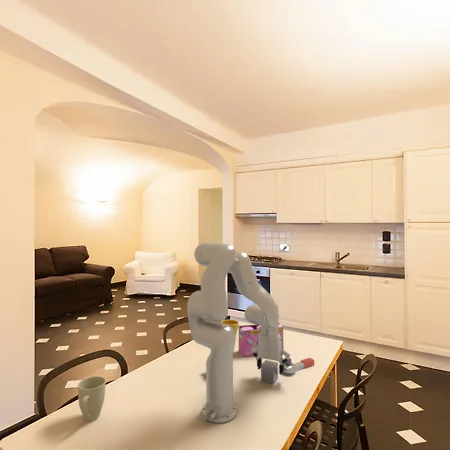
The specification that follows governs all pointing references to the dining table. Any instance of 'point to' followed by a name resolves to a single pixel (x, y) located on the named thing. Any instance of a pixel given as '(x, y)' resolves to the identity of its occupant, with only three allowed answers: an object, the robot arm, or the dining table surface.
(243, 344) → the gum box
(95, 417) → the mug
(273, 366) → the brushed steel block
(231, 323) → the plant pot
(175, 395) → the dining table surface
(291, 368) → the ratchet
